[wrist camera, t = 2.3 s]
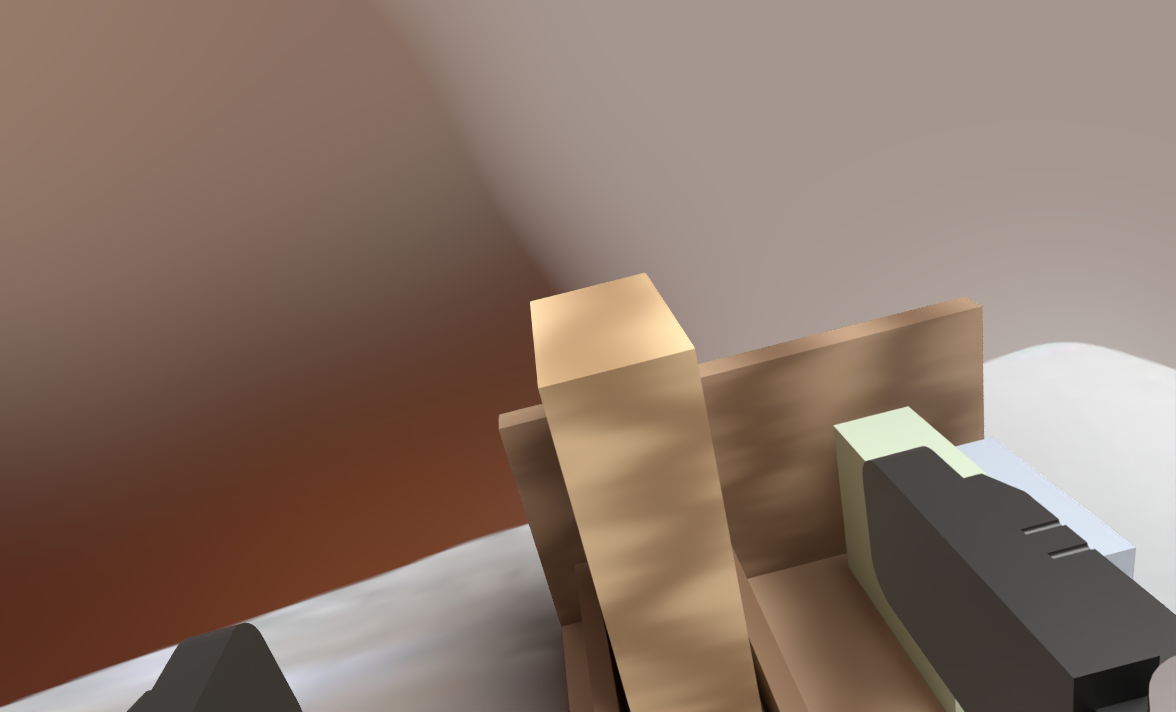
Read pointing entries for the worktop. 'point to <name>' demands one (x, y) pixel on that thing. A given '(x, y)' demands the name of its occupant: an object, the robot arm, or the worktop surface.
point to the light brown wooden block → (646, 494)
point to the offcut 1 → (853, 451)
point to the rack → (779, 507)
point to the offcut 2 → (1051, 500)
